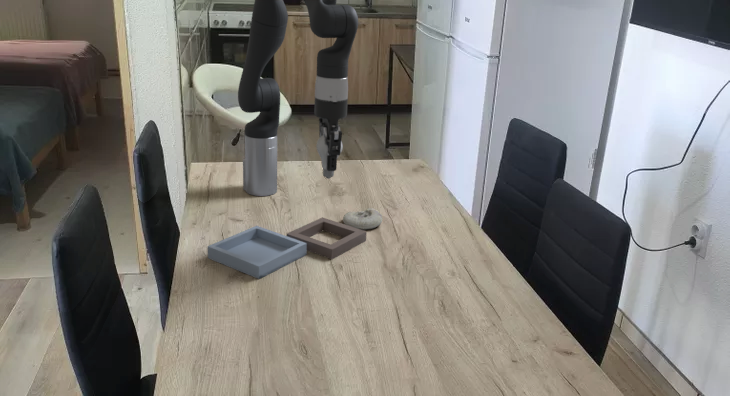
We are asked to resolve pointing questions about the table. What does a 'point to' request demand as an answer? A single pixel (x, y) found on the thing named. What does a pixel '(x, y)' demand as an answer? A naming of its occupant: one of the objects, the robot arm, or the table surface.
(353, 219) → the fossil
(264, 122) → the robot arm
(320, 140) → the lightbulb
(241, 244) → the tray
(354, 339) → the table surface
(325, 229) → the brownish grey square frame
